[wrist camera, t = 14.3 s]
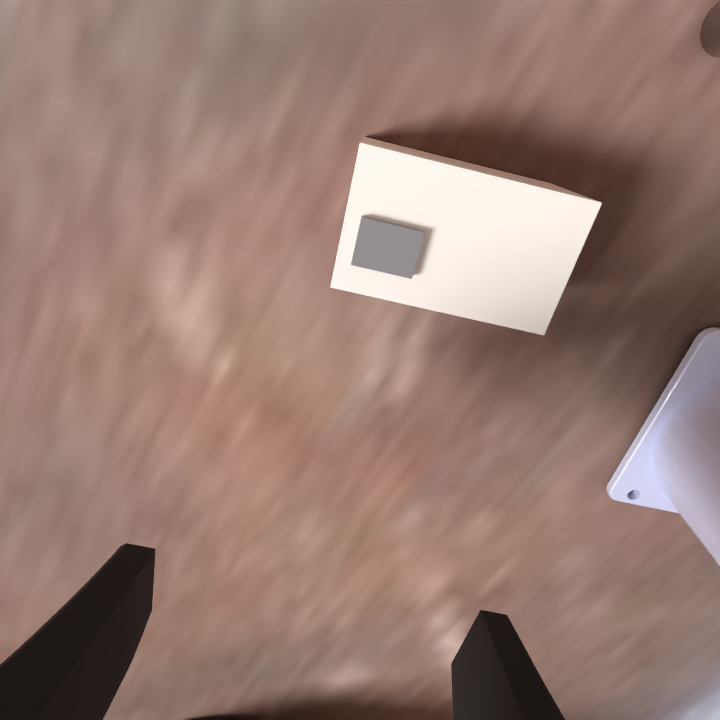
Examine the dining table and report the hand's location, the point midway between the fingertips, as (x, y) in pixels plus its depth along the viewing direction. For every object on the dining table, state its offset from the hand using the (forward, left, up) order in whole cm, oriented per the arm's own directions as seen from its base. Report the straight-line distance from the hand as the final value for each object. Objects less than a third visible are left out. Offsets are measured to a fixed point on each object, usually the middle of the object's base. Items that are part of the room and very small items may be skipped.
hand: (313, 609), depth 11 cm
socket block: (-2, -7, -9) cm, 12 cm away
